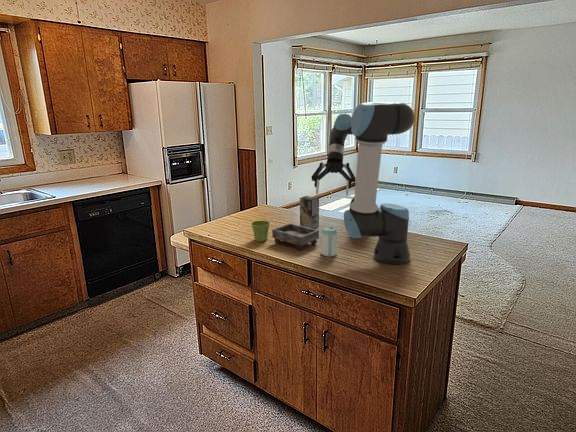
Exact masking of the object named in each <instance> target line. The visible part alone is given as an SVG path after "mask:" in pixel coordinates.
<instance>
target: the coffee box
mask: <svg viewBox="0 0 576 432" xmlns="http://www.w3.org/2000/svg"><path fill="white" fill-rule="evenodd" d="M299 226H303V227H307V228H311V229H316V228H319V226H320V198H319V197H314V196H310V195H306V196H302V197H299Z"/></svg>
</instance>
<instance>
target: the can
mask: <svg viewBox="0 0 576 432" xmlns="http://www.w3.org/2000/svg"><path fill="white" fill-rule="evenodd" d="M320 234H321V235H320V253H321V255H322V256H324V257H331V258H332V257H335V256H336V255H337V254H338V231H337V229H336V227H334V226H325V227H324V226H323V228H322V230H321V231H320Z"/></svg>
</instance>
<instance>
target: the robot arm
mask: <svg viewBox="0 0 576 432" xmlns="http://www.w3.org/2000/svg"><path fill="white" fill-rule="evenodd" d="M415 117H416V116H415V112H414V110H413V109H412V107H411V106H409V105H408V104H406V103H405V102H400V101H391V102H390V101H385V102H384V101H381V102H380V101H379V102H378V101H377V102H376V101H375V102H374V101H373V102H372V101H369V102H361V103H359V104H357V106H356V107H355V108H354V111H353V113H352V116H351V115H350V114H349V113H348V114H347V113H346V112H344V113H343V112H342V113H340V114H338V115H337V117H336V118H335V120H334V124H333V127H332V128H331V129H330V132H329V135H328V137H329V142H328V149H327V159H326V163H323V162H320V163H319V165H318V167H317V168H316V170H315V171H314V172H313V174H312V175H311V181H312V182H314V188H316V189H315V194H316V195H319V188H320V181H321V180H322V179H323V178H324V177H325V176H326V175H328V174H329V173H331V174H334V173H335V174H337V173H339V174H340V175H341V176H342V177H343V179H345V180H346V187H345V188H346V189H345V190H346V191H345V196H347V197H348V195H349V189H351V188H352V183H355V185H354V197H353V198H354V202H352V203H351V202H350V203H351V204H350V203H349V209H347V210H344V213H343V223H344V227H345V230H346V232H347V235H348V236H349V237H350V238H352V239H358V238H359V239H362V238H374V237H378V241H377V242H376V245H375V248H374V250H373V258H374V260H376V261H378V262H379V263H383V264H388V265H403V264H406V263H408V262H410V260H411V252H410V248H409V244H408V232H409V220H410V211H409V209H408V208H407V207H405V206H403V205H400V204H395V203H387V202H386V203H381V204H380V206H379V205H378V204H376V202H377V193H378V185H379V176H380V168H381V159H382V151H383V145H384V144H386V143H387V141H388V137H389V135H390V136H391V135H392V136H393V135H400V134H404V133H405V132H407V131H409V130H410V129H411V128H412V127H413V126H414V124H415V120H416V118H415ZM348 135H353V136H354V137H355V141H356V142H357V143H358V152H357V164H356V172H355V173H356V174H355V175H354V173H353V171H352V169H351V167H350V163H349V162H346V163H344V155H345V154H344V153H345V141H346V138H347V136H348ZM324 168H325V169H324ZM343 168H344V169H346V171H347V173H348V174H347V173H346V172H345V170H344V169H343ZM323 169H324V170H323ZM355 176H356V177H355Z"/></svg>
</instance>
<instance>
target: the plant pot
mask: <svg viewBox="0 0 576 432" xmlns="http://www.w3.org/2000/svg"><path fill="white" fill-rule="evenodd" d="M270 225H271V222H270V221H268V220H262V219H260V220H256V221H255V220H254V221H252V222H250V226H251V227H252V231H253V237H254V240H255V241H256V242H260V243H262V242H265V241H268V235H269V228H270Z"/></svg>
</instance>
